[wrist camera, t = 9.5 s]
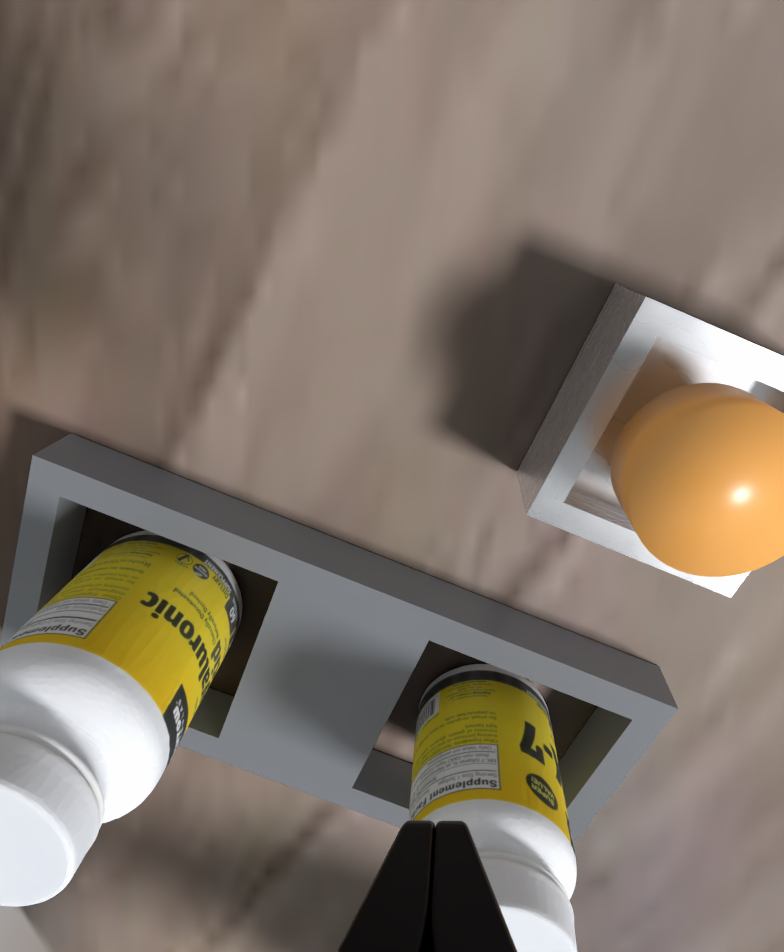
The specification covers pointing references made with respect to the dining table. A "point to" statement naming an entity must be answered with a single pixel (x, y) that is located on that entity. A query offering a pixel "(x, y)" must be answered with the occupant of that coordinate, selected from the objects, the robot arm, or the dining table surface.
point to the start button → (704, 479)
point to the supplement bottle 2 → (500, 795)
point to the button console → (630, 414)
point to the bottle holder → (331, 638)
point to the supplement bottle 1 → (103, 700)
